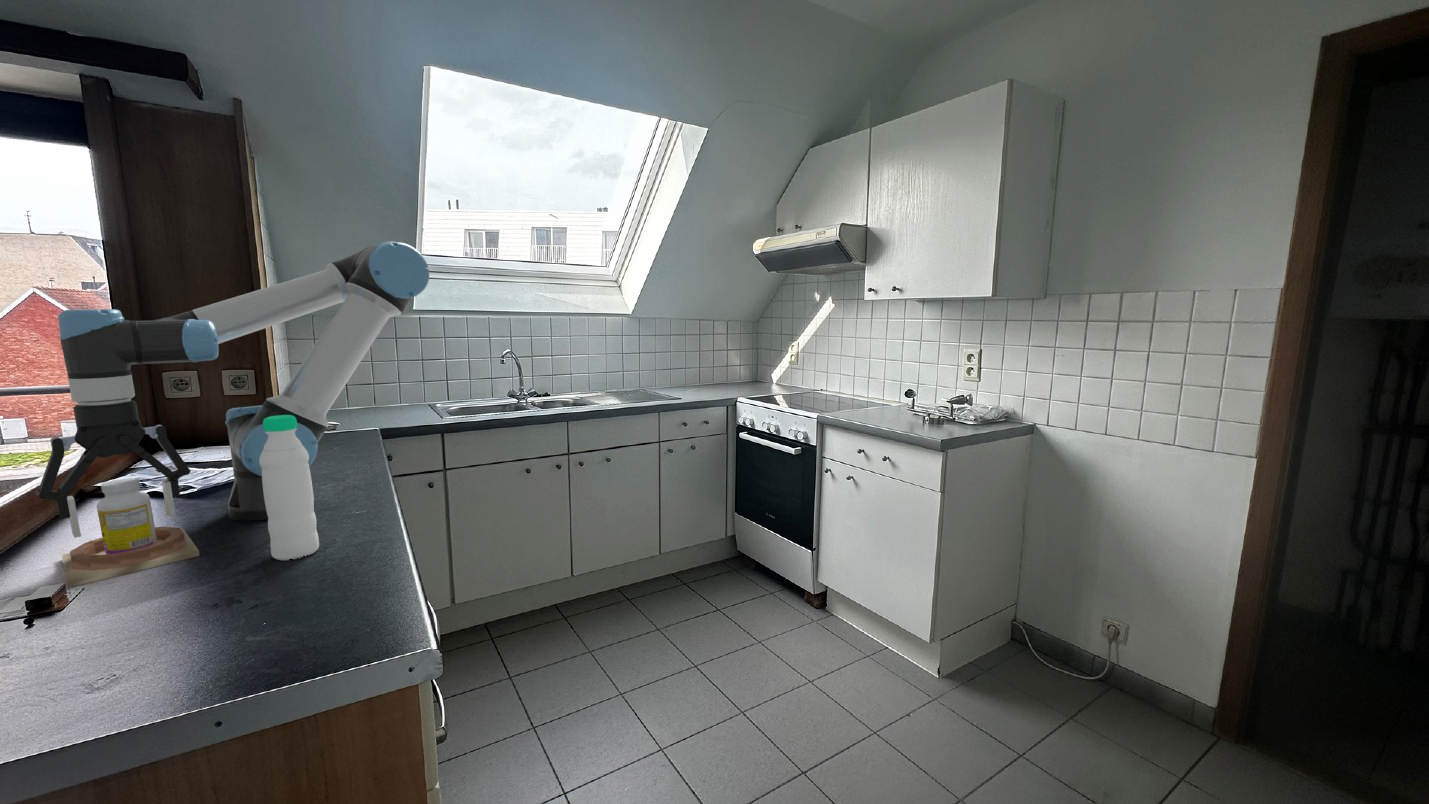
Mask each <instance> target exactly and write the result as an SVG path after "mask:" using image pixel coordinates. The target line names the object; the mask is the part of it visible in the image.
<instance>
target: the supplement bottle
mask: <svg viewBox="0 0 1429 804" xmlns="http://www.w3.org/2000/svg"><path fill="white" fill-rule="evenodd" d="M100 487H101V492H102V493H103V494H104V497H103V498H102V499H100V500H98V502H97V504H96V511H97V516H98V523H99V525H100V532H101V538H103V544H104V549H105V553H106V554H114V553H122V552H126V551H131V550H135V549H140V548H144V547H147V546H150V545H153V544H156V543H157V536H156V530H155V527H156V525H155V521H154V514H153V510H152V508H153V507H152V501H151V497H150V495H149V494H148V493H146V492H143V491H140V487H141V483H140V479H139V478H134V477H131V478H129V477H128V478H121V479H115V480H111V481H106V482H104V483H102V484H101V486H100Z"/></svg>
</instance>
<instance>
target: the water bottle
mask: <svg viewBox="0 0 1429 804" xmlns="http://www.w3.org/2000/svg"><path fill="white" fill-rule="evenodd" d="M263 428H264V430H265V431H266V432H265V433H266V434H267V435H268V440H267V442H266V443H265V445H264V450H263V451H262V453H261V455H260V458H259V463H260V466H261V467H262V484H263V493H264V500H265V506H266V511H267V515H268V519H267V529H268V530H267V531H268V534H269V537H270V542H269V544H270V553H271V556H272V558H273V559H276V560H279V561H290V560H289V559H293V560H298V559H301V557H302V558H304V557H303V556H305V557H308V556H310V555H312V554H314V553H315V552H316V551H317V550H318V549H319V547H320V539H319V534H318V531H317V516H316V513H315V511H314V510H315V509H314V508H315V506H314V504H315V503H314V501H315V499H314V500H313V493H314V489H313V488H314V487H313V483H312V481H313V480H312V474H311V470H310V466H309V464H308V460H309V454H308V452H307V450H306V449H305V448H304V446H303V445H302V444H301V441H300V440H299V439H298V438H297V437H296V436H295V431H296V430H297V429H296V428H297V420H296V418H295V416H292V415H278V416H271V417H267V418H265V419H264V420H263ZM307 555H308V556H307ZM297 558H298V559H297Z"/></svg>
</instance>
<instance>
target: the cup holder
mask: <svg viewBox="0 0 1429 804" xmlns="http://www.w3.org/2000/svg"><path fill="white" fill-rule="evenodd" d="M155 530H156V536H157V543H156V544H153V545H150V546H147V547H144V548H140V549H135V550H131V551H126V552H122V553H114V554H106V553H105V549H104V544H103V538H102V537H99V538H96V539H92V540H90V541H87V542H84V543H82V544H80V545H79V546H77V547H75V548H73V549H71V550H70V551H69V552H68V553H64V554H61V556H62V557H61V558H62V562H63V570H64V574H65V580H66V581H65V582H66V585H67V586H68V587H70V588H74V587H77V586H81V585H86V584H89V583H93V582H98V581H102V580H106V579H110V578H114V577H117V576H122V575H126V574H131V573H134V572H138V571H143V570H147V569H151V568H156V567H158V566H163V565H167V564H168V565H169V564H171V563H175V562H180V561H183V560H184V561H185V560H188V559H192V558H195V557H196V558H197V557H200V550H199V549H198V547H197V546H196V545H195V543H194V542H193V540H192V539H191V538H190V536H189V535H188V534H187V532H186V531H185V529H184V528H181V527H175V526H174V527H173V526H155ZM67 586H66V587H67ZM68 587H67V588H68Z"/></svg>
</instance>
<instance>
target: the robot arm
mask: <svg viewBox="0 0 1429 804" xmlns="http://www.w3.org/2000/svg"><path fill="white" fill-rule="evenodd" d="M429 280H430V269H429V265H428V263H427V260H426V259H425V258H424V256H423V255H422V254H421V252H420V251H418V249H416V248H415V247H413V246H412V245H410V244H407V243H404V242H397V241H385V242H382V243H380V244H377V245H371V246H367V247H365V248H363V249H361V250H359V251H357V252H355V253H352V254H351V255H348V256H346V257H344V258H341V259H338V260H335V261H332V262H330V263H327V265H326V267H325V269H323V270H319V271H316V272H313V273H310V274H307V275H303V276H301V277H297V278H294V279H293V278H292V279H291V280H288V281H287V280H286V281H284V282H283V281H282V282H280V283H276V284H273V285H270V286H267V287H264V288H260V289H257V290H254V291H251V292H248V293H244V294H241V295H237V296H234V297H231V298H227V299H225V300H224V299H223V300H220V301H218V302H215V303H211V304H208V305H205V306H201V307H197V308H194V309H192V310H190V311H189V310H188V311H185V312H181V313H178V314H175V315H172V316H169V317H163V318H159V319H155V320H130V319H129V320H127V319H125V317H124V316H123V315H122V314H123V313H122V312H121V310H120V309H116V308H115V309H109V308H108V309H106V308H105V309H104V308H103V309H101V308H99V309H98V308H97V309H88V308H87V309H83V308H82V309H66V310H62V311H61V312H60V313H59V314H58V317H57V320H58V329H59V340H60V344H61V348H62V349H61V350H62V354H63V358H64V359H63V360H64V364H65V369H66V373H67V379H68V381H67V382H68V385H69V391H70V397H71V401H72V402H74V403H77V404H75V405H74V407H72V409H73V414H74V419H75V421H74V422H75V424H76V425H75V426H76V432H75V435H72V436H64V437H59V436H53V437H52V438H50V446H51V453H50V456H49V458H48V462H47V464H46V468H45V470H44V473H43V475H42V476H43V477H42V478H41V482H40V484H39V487H38V490H37V496H38V497H39V499H40V500H53V501H55V502H56V503H55V504H56V507H57V508H56V509H57V513H58V516H59V517H60V519H62V520H64V519H65V520H66V519H69V522H70V528H71V533H72V536H73V538H74V539H75V538H80V537H82V534H81V533H82V532H81V529H80V524H79V517H78V512H77V507H76V501H75V498H74V496H73V495H70V494H71V492H72V491H73V490H74V489H75V487H76V485H77V484H78V483H79V481H80V480H81V479H82V477H83V476H84V475H85V473H86V472H87V470H88V468H89V467H90V466H91V465H92V463H93V462H94V461H95V460H96V459H97V457H99V458H109V457H111V456H112V457H113V456H115V455H116V456H117V455H118V456H123V455H128V454H130V453H131V452H133V453H134V454H136V455H137V456H138V457H139V458H141V459H143V460H144V461H145V462H147V463H148V465H150V466H151V467H152V468H154V469H156V470H157V471H158V472H159V473H161V475H163V476H165V477H166V479H162V480H161V484H162V485H161V486H162V491H163V497H164V499H163V500H164V504H165V511H166V515H167V516H168V517H169V518H175V517H176V510H175V509H176V508H175V504H174V498H179V497H180V495H181V492H180V484H179V479H180V478H182V477H184V476H188V475H189V474H190V473H191V470H190V468H189V466H188V465H187V464H186V462H185V461H184V459H183V458H182V457H181V456H180V454H179V453H178V451H177V449H175V447H174V445H173V444H172V443H171V441H170V440H169V438H168V435H167V428H166V427H165V426H163V425H162V424H155V425H154V426H148V427H143V426H142V424H141V422H140V418H139V411H138V410H139V409H138V405H137V402H136V401H135V399H134V400H133V399H132V398H134V397H135V396H136V393H135V386H134V381H133V374H132V370H131V365H144V364H145V365H147V364H165V363H166V364H168V363H169V364H172V363H191V362H192V363H198V362H206V361H213V360H214V361H215V360H216V359H217V358H219V351H220V349H219V344H223V343H224V342H228V341H231V340H234V339H237V338H240V337H243V336H245V335H249V334H253V333H255V332H259V331H261V330H264V329H267V328H269V327H273V326H276V325H279V324H281V323H285V322H288V321H291V320H294V319H297V318H299V317H300V318H301V317H302V316H305V315H308V314H312V313H315V312H318V311H321V310H324V309H327V308H330V307H332V306H335V305H339V304H341V306H340V307H339V308H338V310H337V311H336V313H335V314H334V316H333V318H332V319H330V322H329V323H328V325H327V326H326V328H325V329H324V331H323V332H322V333H321V335H320V336H319V338H318V339H317V341H316V342H315V344H314V345H313V346H312V348H311V350H310V351H309V353H308V354H307V355H306V357H305V358H304V360H302V363H301V364H300V366H298V368H297V370H296V372H294V375H293V376H292V377H291V379H290V380H289V382H288V383H287V384H286V386H285V387H284V388H283V391H282V392H281V393H280V394H278V395H275V396H272V397H267V398H266V399H265V401H264V402H263V404H262V405H252V406H243V407H232V408H230V409H227V411H226V413H225V419H226V420H225V422H224V423H225V426H226V427H227V434H228V440H229V449H230V455H231V463H232V470H233V479H234V480H233V485H232V488H231V492H230V495H229V499H228V503H227V515H228V518H229V519H231V520H234V521H241V522H242V521H243V522H245V521H251V522H252V521H263V520H268V515H267V511H266V506H265V500H264V493H263V484H262V467H261V466H260V463H259V458H260V455H261V453H262V451H263V450H264V445H265V443H266V442H267V440H268V435H267V434H266V433H265V432H266V431H265V430H264V428H263V420H264V419H265V418H267V417H271V416H278V415H292V416H295V418H296V420H297V428H296V429H297V430H296V431H295V436H296V437H297V438H298V439H299V440H300V441H301V444H302V445H303V446H304V448H305V449H306V450H307V452H308V454H309V460H308V464H309V467H310V466H311V465H312V464H313V462H314V461H315V459H316V457H317V454H318V448H319V445H318V443H319V441H320V440H321V438H322V437H323V435H324V434H325V432H327V431H326V430H327V429H328V427H329V422H328V420H327V414H328V413H329V411H330V409H331V407H332V406H333V405H334V403H335V401H336V400H337V398H338V397H339V396H340V393H342V391H343V389H345V386H346V384H348V382H349V380H350V378H352V375H353V374H354V372H355V371H356V369H357V368H358V366H359V365H360V363H361V362H362V361H363V359H364V357H365V356H366V354H367V352H368V351H369V350H370V348H371V346H372V345H373V344H374V342H375V340H376V339H377V338H378V336H379V334H380V333H381V331H382V329H383V328H384V327H385V325H386V324H387V322H388V321H389V319H390V318H393V317H399V316H401V315H402V313H403V312H404V310H405V309H406V308H407V306H408V304H409V303H410V301H411V300H412V299H413V298H415V297H417V296H419V295H420V294H421V293H422V292H423V291H424V290H425V289H426V287H427V285H428V283H429ZM145 435H148V436H149V437H150V438H152V439H155V440H156V441H157V442H158V444H159V446H160V447H161V448H162V450H163V451H164V453H165V454H166V455H167V457H168V458H169V459H170V461H171V462H172V463H173V466H175V468H176V469H175V470H172V469H170V468H169V467H168V466H166V465H165V464H163V463H162V462H161V461H160V460H159V459H157V458H156V457H155V456H153V455H152V454H151V453H149V452H148V451H147V450H146V449H144V447H142V446H140V445H139V443H140V441H141V440H142V439H143V438H144V436H145ZM73 444H77V445H79V446H80V447H81V448H83V449H85V450H84V451H83V453H82V454H81V456H80V458H79V459H78V460H77V462H76V464H74V465H73V467H72V469H71V470H70V472H69V473H68V474H67V475H66V477H65V479H63V481H62V483H60V485H59V487H58V488H57V490H56V489H55V490H53V489H54V488H53V487H54V486H55V482H56V479H57V477H58V474H59V472H60V468H61V466H62V462H63V460H64V457H65V451H69V450H70V449H71V446H72V445H73ZM313 500H314V504H315V494H314V492H313Z"/></svg>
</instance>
